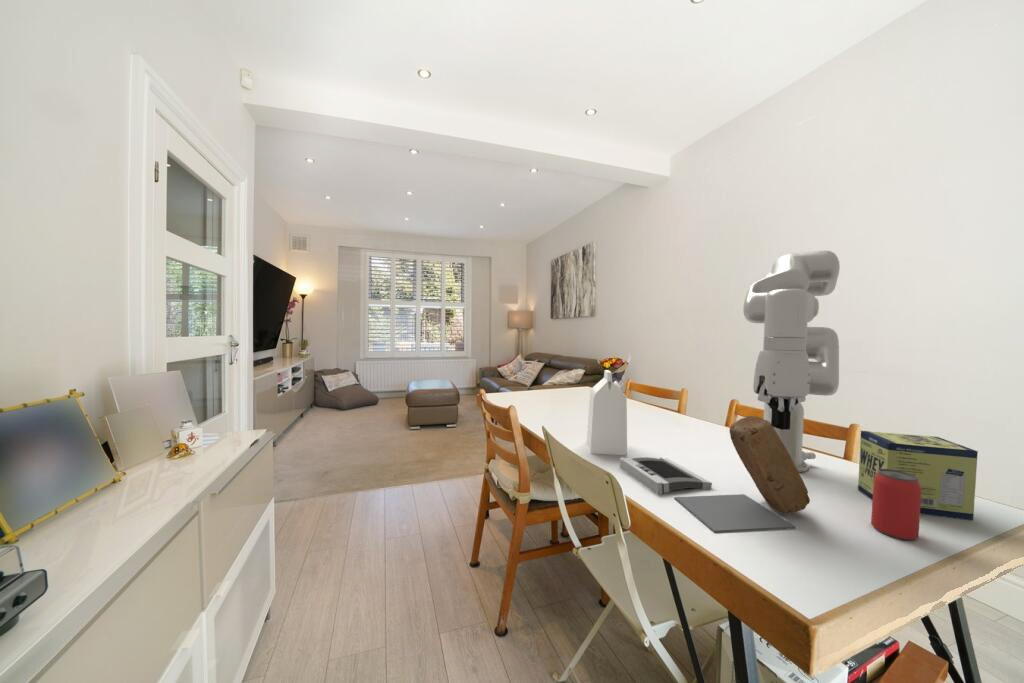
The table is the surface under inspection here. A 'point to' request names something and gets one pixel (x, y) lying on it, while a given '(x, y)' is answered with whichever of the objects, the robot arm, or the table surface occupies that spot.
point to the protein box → (923, 470)
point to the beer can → (896, 504)
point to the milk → (607, 418)
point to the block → (769, 464)
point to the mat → (732, 513)
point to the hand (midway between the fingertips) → (780, 427)
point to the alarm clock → (662, 474)
